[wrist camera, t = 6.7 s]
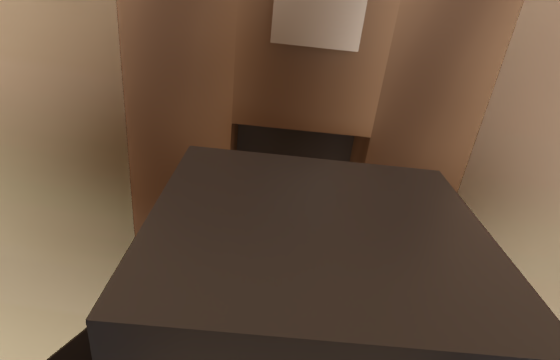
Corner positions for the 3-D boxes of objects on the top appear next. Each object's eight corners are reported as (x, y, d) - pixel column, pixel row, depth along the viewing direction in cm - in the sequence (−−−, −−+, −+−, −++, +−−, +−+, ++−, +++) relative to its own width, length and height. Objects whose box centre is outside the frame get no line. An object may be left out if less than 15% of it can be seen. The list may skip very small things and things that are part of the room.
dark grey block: (414, 138, 11) (594, 364, 4) (368, 304, 13) (439, 589, 7) (206, 117, 10) (86, 319, 4) (203, 289, 13) (126, 568, 7)
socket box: (499, -85, 12) (575, -108, 9) (377, 329, 20) (394, 395, 17) (144, -128, 12) (92, -168, 9) (163, 311, 20) (140, 375, 17)
